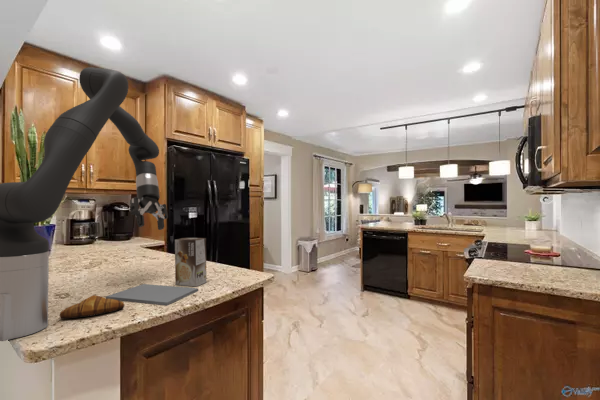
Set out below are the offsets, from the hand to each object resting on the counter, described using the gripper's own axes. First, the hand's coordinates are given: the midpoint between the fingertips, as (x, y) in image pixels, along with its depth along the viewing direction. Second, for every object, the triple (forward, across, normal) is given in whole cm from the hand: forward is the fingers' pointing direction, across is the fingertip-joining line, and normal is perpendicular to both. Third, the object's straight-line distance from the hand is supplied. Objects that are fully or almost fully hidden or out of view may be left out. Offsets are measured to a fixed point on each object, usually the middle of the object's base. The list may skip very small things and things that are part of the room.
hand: (151, 227), depth 103 cm
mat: (+24, -6, -5) cm, 26 cm away
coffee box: (+23, +8, -7) cm, 25 cm away
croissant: (+28, -23, -2) cm, 36 cm away
